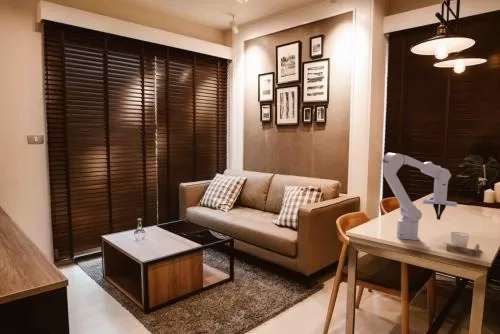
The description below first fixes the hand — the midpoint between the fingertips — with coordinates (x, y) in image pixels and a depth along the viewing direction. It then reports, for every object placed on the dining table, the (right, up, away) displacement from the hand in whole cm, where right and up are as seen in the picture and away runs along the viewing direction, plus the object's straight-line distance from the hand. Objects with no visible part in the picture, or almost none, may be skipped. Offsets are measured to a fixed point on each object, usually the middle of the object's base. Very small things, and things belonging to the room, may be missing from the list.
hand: (438, 219), depth 167 cm
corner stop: (+2, -12, -20) cm, 23 cm away
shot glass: (+1, -11, -15) cm, 19 cm away
